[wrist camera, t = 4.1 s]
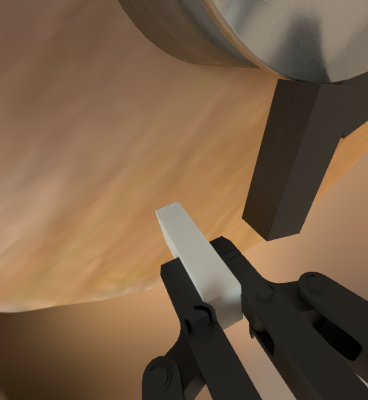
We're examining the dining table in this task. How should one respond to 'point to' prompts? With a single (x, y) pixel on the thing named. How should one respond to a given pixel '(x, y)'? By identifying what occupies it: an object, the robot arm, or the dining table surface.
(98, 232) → the dining table surface
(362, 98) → the pressure cooker
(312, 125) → the cooker lid
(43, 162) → the dining table surface
